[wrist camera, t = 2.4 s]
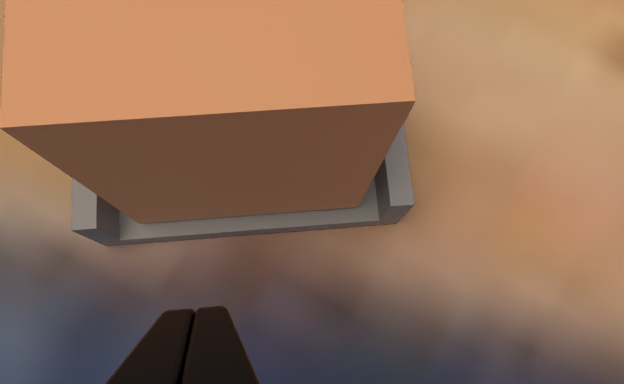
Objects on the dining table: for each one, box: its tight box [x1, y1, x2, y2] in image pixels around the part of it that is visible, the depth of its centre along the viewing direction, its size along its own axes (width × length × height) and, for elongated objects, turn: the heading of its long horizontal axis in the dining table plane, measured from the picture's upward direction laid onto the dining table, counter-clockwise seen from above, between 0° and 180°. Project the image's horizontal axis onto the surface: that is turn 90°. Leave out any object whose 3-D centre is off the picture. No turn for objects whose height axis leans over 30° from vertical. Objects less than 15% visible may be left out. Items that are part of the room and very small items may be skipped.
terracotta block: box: [0, 0, 416, 223], centre depth 16 cm, size 4×8×10 cm, turn 95°
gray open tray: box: [71, 123, 415, 246], centre depth 22 cm, size 16×11×4 cm
